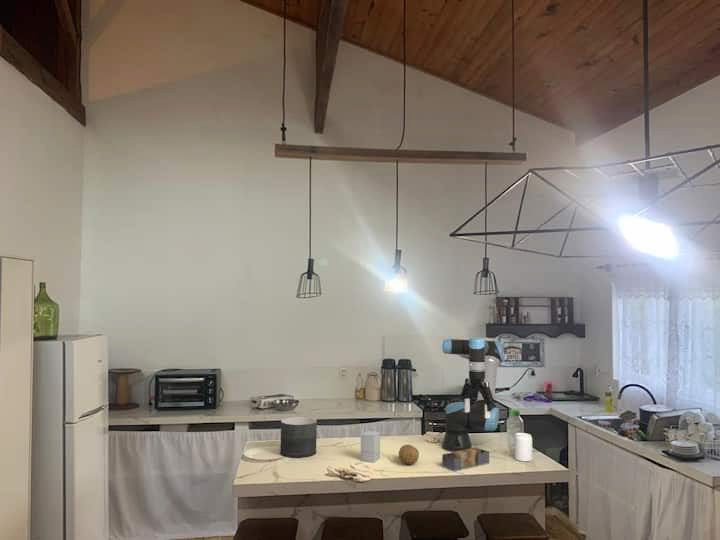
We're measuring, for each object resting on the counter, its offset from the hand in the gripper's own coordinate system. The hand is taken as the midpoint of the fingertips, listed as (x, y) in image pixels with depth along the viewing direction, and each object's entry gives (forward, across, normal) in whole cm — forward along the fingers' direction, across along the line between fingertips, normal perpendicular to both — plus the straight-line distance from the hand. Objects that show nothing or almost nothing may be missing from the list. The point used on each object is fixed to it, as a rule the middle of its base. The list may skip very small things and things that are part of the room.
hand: (477, 415), depth 253 cm
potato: (+22, -14, -30) cm, 40 cm away
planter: (+22, -54, -68) cm, 90 cm away
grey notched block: (+22, +2, -9) cm, 23 cm away
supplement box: (+22, -27, -43) cm, 55 cm away
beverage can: (+22, +9, +22) cm, 32 cm away
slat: (+21, +2, -9) cm, 23 cm away
